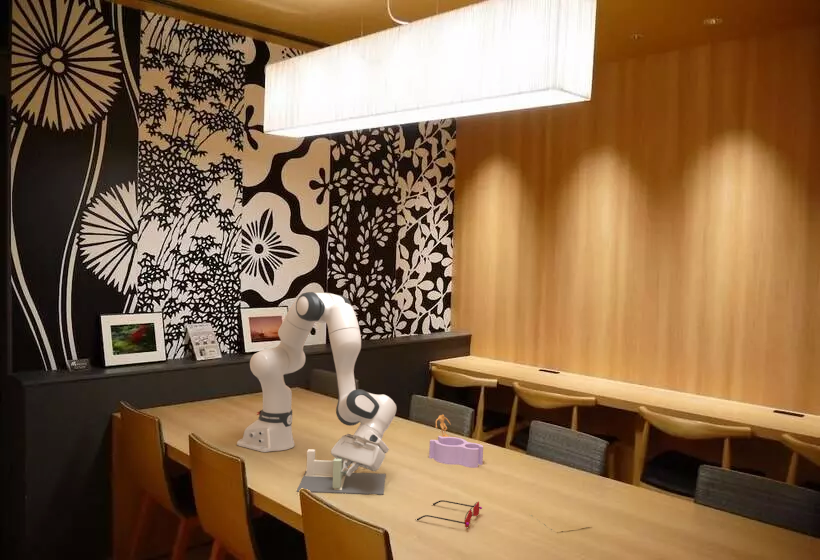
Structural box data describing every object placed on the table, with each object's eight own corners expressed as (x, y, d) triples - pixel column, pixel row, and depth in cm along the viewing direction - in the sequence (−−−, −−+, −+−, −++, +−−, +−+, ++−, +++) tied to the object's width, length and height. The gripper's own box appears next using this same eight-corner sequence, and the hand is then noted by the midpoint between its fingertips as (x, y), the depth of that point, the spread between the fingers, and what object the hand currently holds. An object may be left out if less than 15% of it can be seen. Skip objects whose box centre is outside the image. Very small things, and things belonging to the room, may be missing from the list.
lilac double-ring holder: (487, 462, 255) (488, 444, 254) (472, 470, 244) (473, 451, 244) (441, 451, 265) (442, 434, 265) (425, 459, 255) (426, 441, 254)
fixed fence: (338, 475, 233) (338, 450, 232) (337, 478, 230) (338, 452, 230) (307, 474, 233) (308, 449, 232) (306, 477, 230) (307, 451, 230)
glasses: (467, 533, 191) (468, 516, 191) (414, 522, 198) (414, 505, 197) (482, 515, 204) (482, 499, 204) (431, 505, 210) (431, 490, 210)
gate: (338, 473, 233) (339, 447, 232) (345, 473, 233) (346, 448, 232) (332, 488, 218) (333, 460, 218) (339, 488, 218) (340, 461, 218)
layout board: (296, 491, 217) (296, 490, 217) (305, 471, 236) (305, 470, 236) (383, 495, 217) (383, 493, 217) (385, 474, 236) (385, 473, 236)
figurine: (441, 447, 270) (442, 417, 270) (430, 443, 275) (431, 414, 274) (455, 443, 276) (456, 415, 275) (445, 440, 280) (446, 411, 280)
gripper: (340, 427, 232) (318, 462, 225) (383, 440, 219) (362, 477, 212) (349, 437, 236) (328, 472, 229) (392, 450, 222) (371, 487, 216)
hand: (344, 474), depth 220 cm, fingers closed
